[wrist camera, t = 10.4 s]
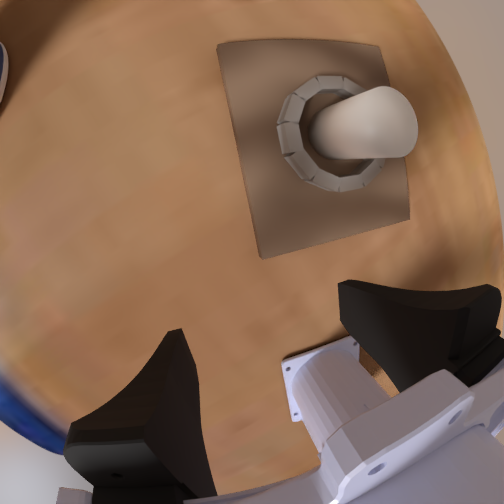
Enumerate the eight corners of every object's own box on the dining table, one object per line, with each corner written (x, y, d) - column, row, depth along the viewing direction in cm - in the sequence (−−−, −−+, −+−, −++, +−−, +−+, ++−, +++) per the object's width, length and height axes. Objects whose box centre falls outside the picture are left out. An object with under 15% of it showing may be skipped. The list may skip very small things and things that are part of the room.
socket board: (403, 217, 23) (421, 222, 21) (259, 255, 21) (268, 266, 19) (372, 50, 18) (388, 41, 16) (216, 49, 16) (220, 34, 14)
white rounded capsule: (359, 156, 20) (422, 154, 13) (314, 163, 19) (371, 161, 13) (348, 107, 18) (409, 88, 12) (302, 110, 18) (355, 85, 11)
